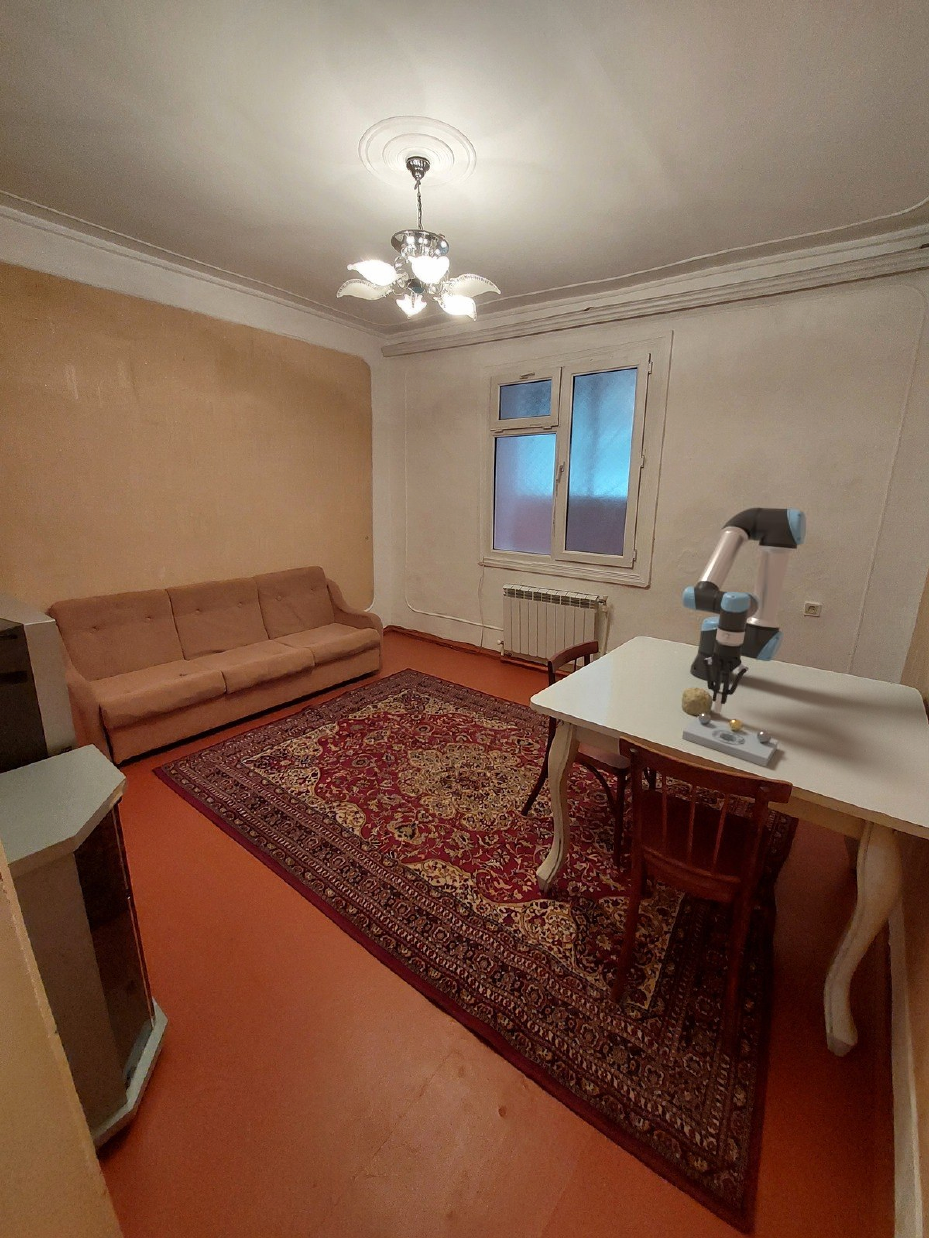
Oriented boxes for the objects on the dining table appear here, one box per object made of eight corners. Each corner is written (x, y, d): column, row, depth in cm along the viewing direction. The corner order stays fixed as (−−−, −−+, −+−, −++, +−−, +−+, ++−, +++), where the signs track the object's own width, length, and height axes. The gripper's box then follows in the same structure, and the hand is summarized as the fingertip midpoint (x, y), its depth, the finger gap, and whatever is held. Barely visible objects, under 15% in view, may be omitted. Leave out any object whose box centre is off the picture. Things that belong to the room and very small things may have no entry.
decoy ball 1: (700, 719, 156) (701, 709, 155) (711, 723, 153) (713, 713, 152) (696, 723, 153) (697, 713, 152) (708, 727, 151) (709, 716, 150)
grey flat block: (697, 723, 159) (698, 716, 158) (776, 748, 145) (778, 740, 144) (682, 738, 149) (683, 730, 149) (765, 766, 135) (767, 758, 135)
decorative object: (678, 713, 172) (670, 695, 167) (700, 696, 173) (693, 676, 168) (699, 728, 164) (692, 709, 159) (722, 709, 165) (715, 689, 161)
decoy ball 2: (757, 737, 145) (759, 726, 144) (771, 742, 143) (773, 731, 142) (754, 742, 143) (756, 731, 142) (768, 746, 141) (770, 735, 140)
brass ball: (729, 726, 152) (731, 715, 151) (742, 730, 150) (744, 719, 149) (726, 730, 149) (728, 719, 148) (739, 734, 147) (741, 723, 146)
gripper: (703, 640, 158) (692, 709, 164) (748, 650, 149) (736, 722, 156) (710, 635, 163) (700, 701, 169) (755, 644, 155) (742, 714, 161)
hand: (717, 711), depth 163 cm, fingers closed
